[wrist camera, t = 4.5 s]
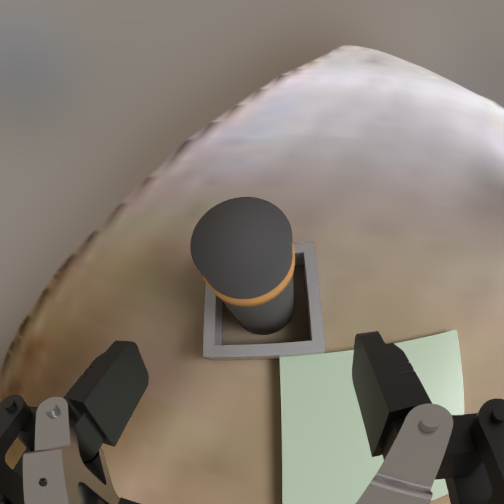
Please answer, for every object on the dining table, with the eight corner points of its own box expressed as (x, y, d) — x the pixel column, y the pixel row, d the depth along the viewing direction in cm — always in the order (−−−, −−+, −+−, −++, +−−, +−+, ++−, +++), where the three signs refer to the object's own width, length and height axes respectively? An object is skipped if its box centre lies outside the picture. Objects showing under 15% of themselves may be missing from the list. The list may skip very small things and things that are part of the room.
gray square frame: (312, 254, 22) (313, 241, 20) (322, 354, 18) (325, 351, 16) (214, 262, 23) (207, 250, 21) (211, 359, 19) (202, 356, 17)
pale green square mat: (451, 331, 17) (456, 329, 16) (454, 486, 10) (458, 488, 10) (279, 358, 18) (279, 356, 18) (282, 525, 12) (282, 530, 11)
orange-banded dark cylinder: (292, 275, 21) (289, 190, 13) (297, 334, 19) (299, 284, 10) (234, 280, 22) (193, 201, 13) (234, 337, 20) (184, 291, 11)
